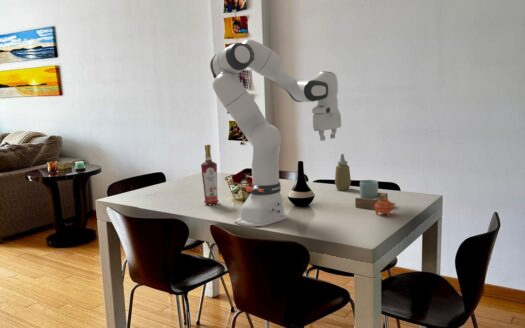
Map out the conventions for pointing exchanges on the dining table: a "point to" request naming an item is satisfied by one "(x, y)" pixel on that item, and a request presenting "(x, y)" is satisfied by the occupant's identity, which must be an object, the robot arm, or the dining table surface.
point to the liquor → (209, 178)
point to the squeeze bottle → (342, 175)
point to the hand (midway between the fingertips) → (327, 139)
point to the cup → (368, 189)
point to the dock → (370, 201)
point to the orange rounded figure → (383, 207)
